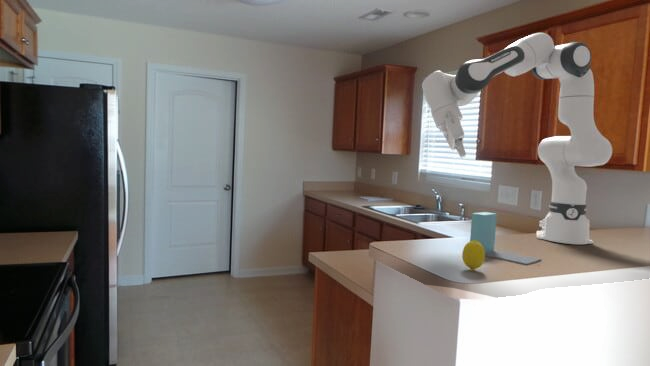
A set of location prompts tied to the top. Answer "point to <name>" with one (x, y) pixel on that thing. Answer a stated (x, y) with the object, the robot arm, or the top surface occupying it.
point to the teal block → (484, 229)
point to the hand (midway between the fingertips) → (463, 156)
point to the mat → (512, 257)
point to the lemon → (473, 255)
